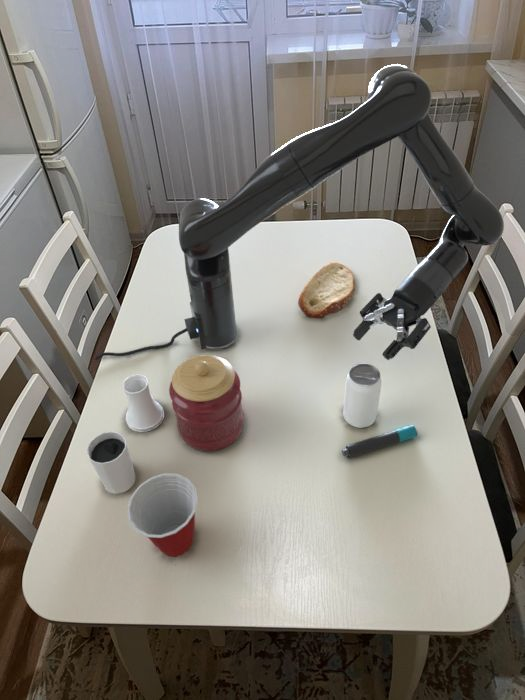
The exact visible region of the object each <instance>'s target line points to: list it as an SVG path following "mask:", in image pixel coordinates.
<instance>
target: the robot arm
mask: <svg viewBox="0 0 525 700" xmlns="http://www.w3.org/2000/svg"><path fill="white" fill-rule="evenodd" d="M432 98H433V97H432V91H431V88H430V86H429V85H428V83H427V82H426V81H425V79H423V78H422V77H421V76H420V75H419V74H417V72H416V71H414V70H413V69H412V68H410V67H407V66H406V65H401V64H391V65H387V66H384V67H383V68H381V69H380V70H378V71H377V72H376V73H375V74H374V76H373V77H372V78H371V81H370V82H369V85H368V90H367V101H365V102H364V103H363V104H361V105H360V106H359V107H358V108H356V109H355V110H354V111H352V112H351V113H349V114H348V115H346V116H344V117H343V118H341V119H340V120H337V121H335V122H333V123H329V124H326V125H324V126H322V127H318V128H315V129H312V130H310V131H308V132H305V133H303V134H301V135H299V136H296V137H295V138H293V139H291V140H290V141H287V143H285V144H284V145H282V146H281V147H280V148H278V149H277V150H275V151H274V152H272V153H271V154H269V156H267V157H266V158H265V159H264V160H263V161H262V162H261V163H260V164H259V165H258V166H257V167H256V169H255V170H254V171H253V172H252V173H251V174H250V176H249V177H248V178H247V179H246V180H245V181H244V183H243V184H242V186H241V187H240V188H239V189H238V190H237V191H236V192H235V193H234V194H233V195H232V196H231V197H230V198H228V199H227V200H226V201H224V202H223V203H220V205H218V204H217V203H216V202H214V201H212V200H210V199H207V198H197V199H193V200H191V201H189V202H188V203H186V204H185V205H184V207H183V208H182V209H181V210H180V213H179V216H178V240H179V246H180V249H181V251H182V253H183V256H184V266H185V267H184V268H185V274H186V275H185V276H186V279H187V286H188V291H189V298H190V302H189V305H190V312H191V316H192V317H187V318H184V326H185V328H184V329H182V330H180V331H178V332H176V333H175V334H174V335H173V336H172V337H171V339H170V341H168V342H167V343H165V344H159V345H158V344H156V345H149V346H148V345H147V346H144V347H141V348H137V349H133V350H130V351H124V352H109V351H108V352H107V351H106V352H102V353H99V354H98V355H96V356H95V358H94V360H95V361H97V360H99V359H100V358H102V357H106V356H109V357H124V356H129V355H133V354H137V353H141V352H145V351H148V350H155V349H163V348H168V347H170V346H172V345H173V344H174V342H175V339H176V338H178V337H179V336H181V335H184V334H185V333H186V332H187V334H188V337H189V339H190V340H193V339H196V341H197V343H198V344H199V348H200V350H202V351H203V350H209V351H221V350H225V349H228V348H229V347H231V346H232V345H234V344H235V342H237V339H238V327H237V321H236V311H235V310H236V309H235V301H234V291H233V283H232V272H231V270H232V269H231V262H230V259H231V258H230V252H229V247H231V246H232V245H233V244H235V243H236V242H237V241H238V240H239V239H241V238H242V237H243V236H244V235H246V234H247V233H248V232H250V231H251V230H252V229H253V228H255V227H256V226H257V225H259V224H261V223H262V222H263V221H265V220H266V219H267V220H268V218H270V217H272V216H273V215H274V214H276V213H278V212H279V211H280V210H282V209H284V208H285V207H287V206H288V205H289V204H291V203H293V202H295V201H296V200H298V199H299V198H301V197H303V196H305V195H306V194H307V193H309V192H310V191H312V190H314V189H315V188H316V187H318V186H319V185H321V184H322V183H324V182H325V181H326V180H328V179H330V177H332V176H334V175H336V174H337V173H338V172H340V171H342V170H343V169H344V168H346V167H348V166H349V165H351V164H352V163H353V162H355V161H356V160H358V159H359V158H361V157H362V156H364V155H366V154H368V153H369V152H371V151H373V150H375V149H376V148H379V147H380V146H382V145H384V144H386V143H388V142H390V141H392V140H394V139H396V138H398V139H399V140H400V142H401V143H402V145H403V146H404V147H405V149H406V151H407V152H408V154H409V156H410V157H411V159H412V160H413V162H414V163H415V166H416V167H417V169H418V171H419V172H420V175H422V177H423V179H424V182H425V183H426V185H427V186H428V188H429V189H430V191H431V193H432V194H433V196H434V198H435V199H436V200H437V202H438V203H439V205H440V207H441V208H442V209H443V210H444V211H445V212H446V213H447V214H450V215H452V216H451V217H450V218H449V220H448V221H447V223H446V226H445V227H444V229H443V231H442V233H441V235H440V237H439V239H438V241H437V244H436V245H435V246H434V247H433V248H432V249H431V250H430V251H429V253H428V254H427V255H426V256H425V257H424V259H422V260H421V261H420V262H419V263H418V264H417V265H416V266H415V267H414V268H413V269H412V270H411V272H409V274H408V275H407V276H406V277H405V278H404V280H402V282H401V283H400V284H399V285H398V286H397V287H396V288H395V289H394V291H393V294H392V296H391V297H390V298H385V297H383V295H382V294H381V293H380V292H377V293H376V294H375V295H374V296H373V297H372V298H371V299H370V300H369V301H368V302H367V303H366V304H365V305H364V307H362V309H360V311H359V315H360V316H361V318H362V321H361V322H359V324H358V326H357V327H356V328H355V329H354V330H353V334H352V336H353V338H354V339H355V340H357V341H361V340H362V339H363V338H364V336H365V335H366V334H367V333H368V332H369V331H370V329H371V327H374V326H376V325H384V324H386V325H387V326H390V327H392V328H393V329H394V330H395V331H396V333H397V334H396V339H393V340H392V341H391V343H389V345H388V346H387V347H386V348H385V349H384V351H383V352H382V357H383V358H384V359H385V360H387V361H390V360H392V359H394V358H395V357H396V356H397V354H398V353H399V352H400V351H401V350H402V349H403V348H405V347H406V348H409V349H410V350H414V349H415V348H416V347H418V345H419V343H420V342H421V341H422V340H423V338H424V337H425V336H426V335H427V333H428V332H429V331H430V329H431V327H432V326H431V324H430V322H429V320H428V319H427V318H426V317H423V318H422V316H424V315H425V314H426V313H428V311H429V310H430V309H431V308H432V306H433V305H434V304H435V303H436V302H437V301H438V299H439V298H440V297H441V296H442V295H443V294H444V292H445V291H446V290H447V288H448V287H449V285H451V283H452V281H453V280H454V279H455V278H456V277H457V276H458V275H459V274H460V272H461V271H462V270H463V269H464V267H465V266H466V265H467V263H468V261H469V255H468V252H467V250H466V249H465V248H464V247H465V245H467V244H468V243H469V244H473V245H477V246H491V245H494V244H495V243H497V242H498V241H499V240H500V239H501V238H502V236H503V233H504V230H505V222H504V218H503V215H502V213H501V212H500V210H499V209H498V207H497V206H496V205H495V204H494V203H493V202H492V201H491V200H490V199H489V198H488V197H487V196H486V195H485V194H484V192H482V191H480V189H479V188H478V187H476V184H475V183H474V181H473V179H472V178H471V175H470V174H469V172H468V170H467V169H466V167H465V166H464V164H463V163H462V161H461V160H460V158H459V157H458V156H457V154H456V153H455V151H454V150H453V148H452V147H451V146H450V145H449V143H448V142H447V141H446V139H445V138H444V137H443V135H442V133H441V132H440V131H439V130H438V128H437V126H436V124H435V123H434V121H433V119H432V117H431V115H430V114H429V110H430V108H431V105H432ZM412 326H415V327H414V328H413V329H412V331H411V332H410V327H412ZM409 333H410V334H409Z"/></svg>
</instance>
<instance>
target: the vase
mask: <svg viewBox="0 0 525 700" xmlns="http://www.w3.org/2000/svg"><path fill="white" fill-rule="evenodd" d="M122 389H123V391H124V393H125V395H126V398H127V403H128V409H127V411H126V412H125V422H126V425H127V426H128V428H129V429H130V430H132V431H134V432H138V433H147V432H150V431H153V430H155V429H157V428H158V427H159V426H160V425H161V424H162V422H163V421H164V418H165V411H164V407H163V406H162V405H161V403H159V402H158V401H156V400H155V399H154V397H153V396H152V394H151V390H150V387H149V379H148V378H147V376H145V375H143V374H138V373H137V374H132V375H129V376H128V377H126V378H125V379H124V380H123V382H122Z"/></svg>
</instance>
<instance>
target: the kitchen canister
mask: <svg viewBox="0 0 525 700" xmlns="http://www.w3.org/2000/svg"><path fill="white" fill-rule="evenodd" d="M168 392H169V397H170V400H171V406H172V409H173V412H174V413H175V418H176V426H177V431H178V433H179V435H180V437H181V438H182V440H183V442H184V443H186V445H188V446H189V447H190V448H192V449H194V450H197V451H201V452H217V451H220V450H224V449H225V448H228V447H230V446H231V445H232V444H234V443H235V442H236V441H237V440H238V439H239V437H240V435H241V434H242V433H243V428H244V424H245V413H244V410H243V405H242V399H243V396H242V390H241V379H240V377H239V374H238V372H237V371H236V370H235V369H234V367H233V366H232V364H231V363H230V362H229V361H228V360H227V359H225V358H223V357H221V356H218V355H214V354H201V355H196V356H193V357H189V358H188V359H186V360H184V361H182V362H181V363H180V364H179V365H178V366H177V367H176V368H175V370H174V372H173V374H172V377H171V381H170V384H169V388H168Z"/></svg>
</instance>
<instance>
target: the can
mask: <svg viewBox="0 0 525 700" xmlns="http://www.w3.org/2000/svg"><path fill="white" fill-rule="evenodd" d="M381 389H382V377H381V372H380V370H379V368H377V366H374V365H372V364H370V363H366V362H365V363H357V364H355V365H353V366H352V367H351V368H350V369H349V372H348V374H347V375H346V379H345V388H344V398H343V410H342V413H343V414H342V415H343V418H344V420H345V422H346V423H347V424H348V425H350V426H352V427H354V428H359V429H362V428H363V429H364V428H368V427H370V426H371V425H373V424H374V423H375V422H376V419H377V414H378V409H379V401H380V396H381Z"/></svg>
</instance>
